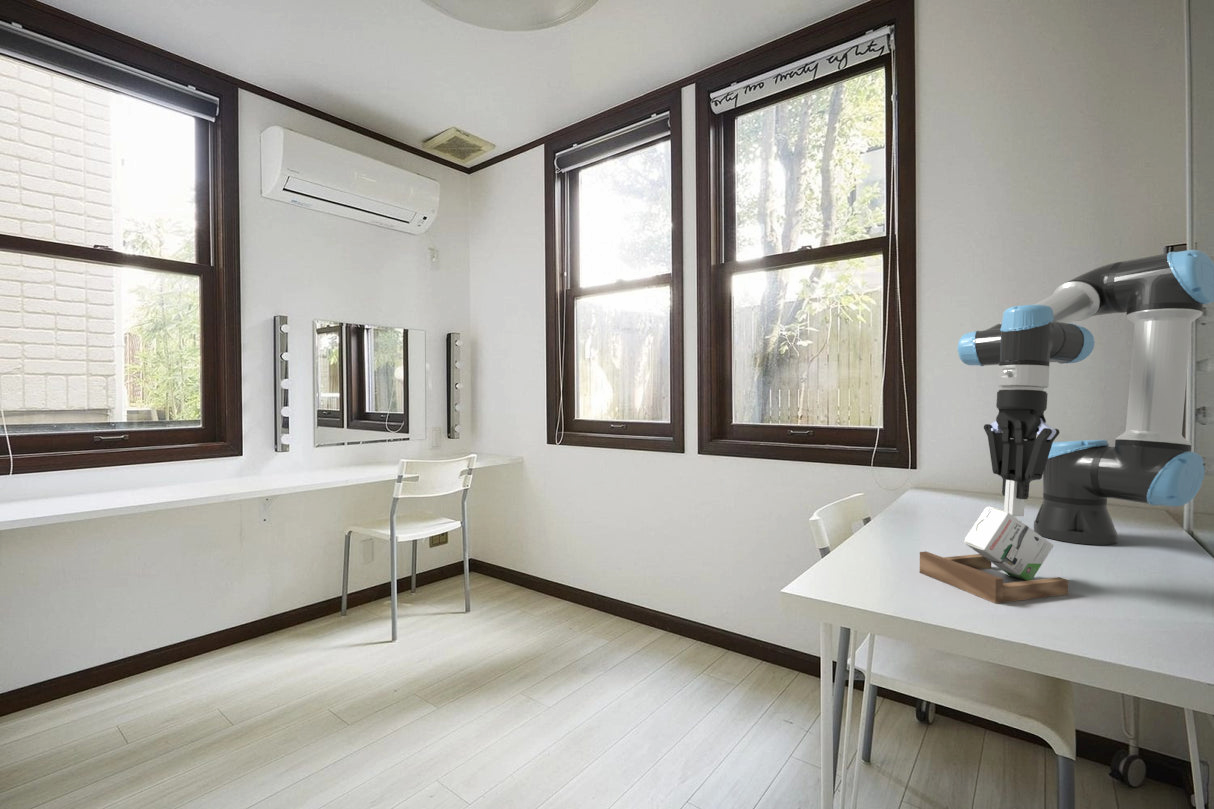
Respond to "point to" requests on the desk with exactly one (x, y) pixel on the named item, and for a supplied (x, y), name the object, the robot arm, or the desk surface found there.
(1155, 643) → the desk surface
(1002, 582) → the u rest
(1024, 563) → the ink box
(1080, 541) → the robot arm
